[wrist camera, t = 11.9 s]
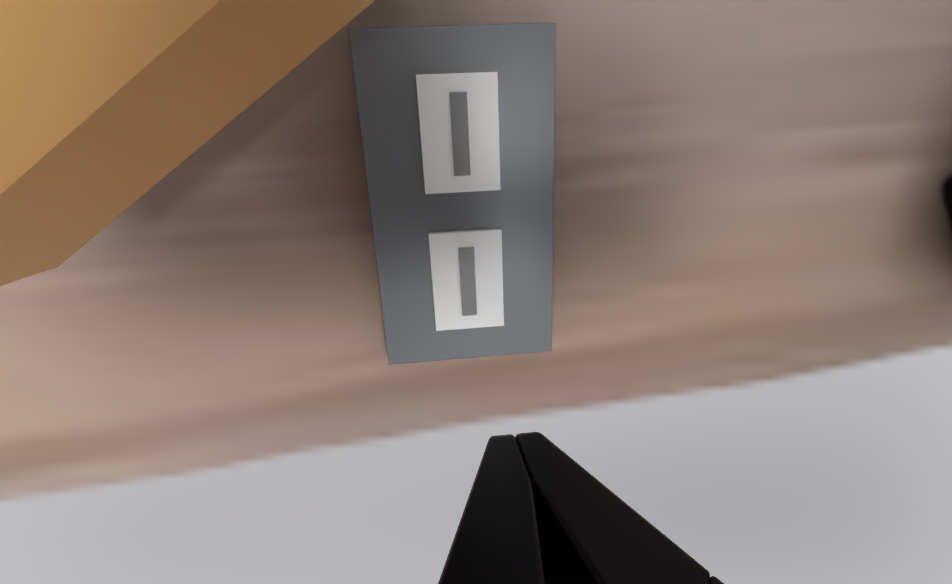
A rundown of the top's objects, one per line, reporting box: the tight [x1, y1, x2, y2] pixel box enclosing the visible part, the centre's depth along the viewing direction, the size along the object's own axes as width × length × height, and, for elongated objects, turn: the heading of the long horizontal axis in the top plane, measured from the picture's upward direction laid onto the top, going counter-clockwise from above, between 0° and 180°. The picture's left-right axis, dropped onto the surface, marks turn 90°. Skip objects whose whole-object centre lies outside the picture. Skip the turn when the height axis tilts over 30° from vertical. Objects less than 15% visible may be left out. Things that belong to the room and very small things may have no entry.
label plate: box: [349, 23, 556, 365], centre depth 17 cm, size 12×7×1 cm, turn 2°
